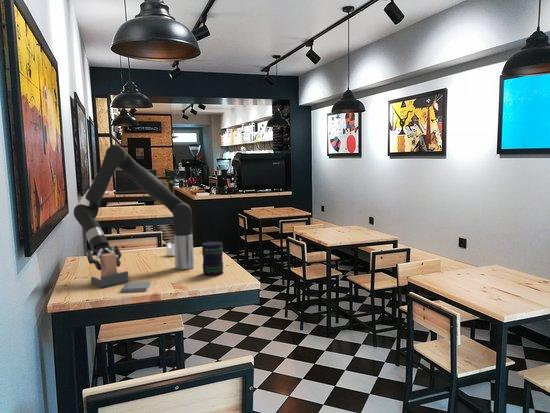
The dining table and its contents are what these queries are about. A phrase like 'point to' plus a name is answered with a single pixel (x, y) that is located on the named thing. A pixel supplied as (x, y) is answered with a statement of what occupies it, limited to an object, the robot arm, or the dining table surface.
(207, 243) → the storage jar
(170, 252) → the bracket
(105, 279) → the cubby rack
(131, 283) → the slate pad
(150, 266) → the dining table surface
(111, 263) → the terracotta block
